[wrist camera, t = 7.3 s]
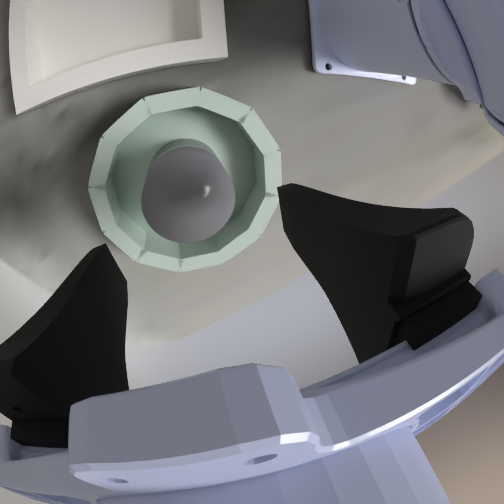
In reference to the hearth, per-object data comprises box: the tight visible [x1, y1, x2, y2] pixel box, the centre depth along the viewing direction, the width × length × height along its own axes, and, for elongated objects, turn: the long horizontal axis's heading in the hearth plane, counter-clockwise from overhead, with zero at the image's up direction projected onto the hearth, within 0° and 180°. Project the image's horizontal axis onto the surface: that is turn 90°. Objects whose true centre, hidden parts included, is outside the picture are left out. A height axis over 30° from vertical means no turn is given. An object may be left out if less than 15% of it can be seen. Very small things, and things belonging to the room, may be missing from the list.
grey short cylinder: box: [141, 139, 235, 243], centre depth 15 cm, size 5×5×4 cm
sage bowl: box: [88, 87, 282, 272], centre depth 16 cm, size 11×11×3 cm
